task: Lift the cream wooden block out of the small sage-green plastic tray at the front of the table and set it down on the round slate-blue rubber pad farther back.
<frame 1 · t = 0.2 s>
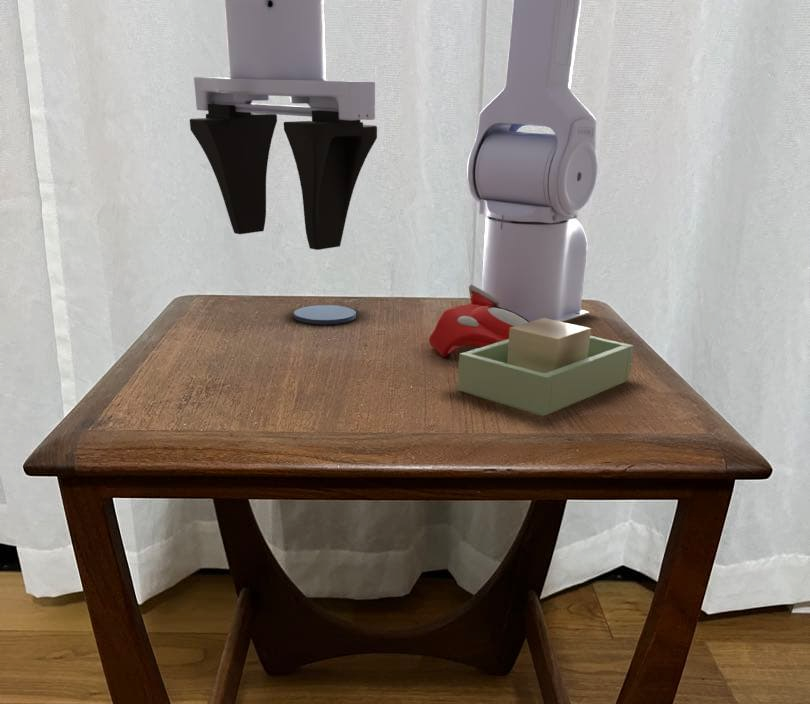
hand: (285, 239, 57), 10 cm above the table, tool pointing down, fingers open, 7 cm apart
red curved piece: (492, 350, 71), on the table
pad: (325, 316, 79), on the table
block: (545, 384, 62), resting on tray
tray: (544, 391, 62), on the table
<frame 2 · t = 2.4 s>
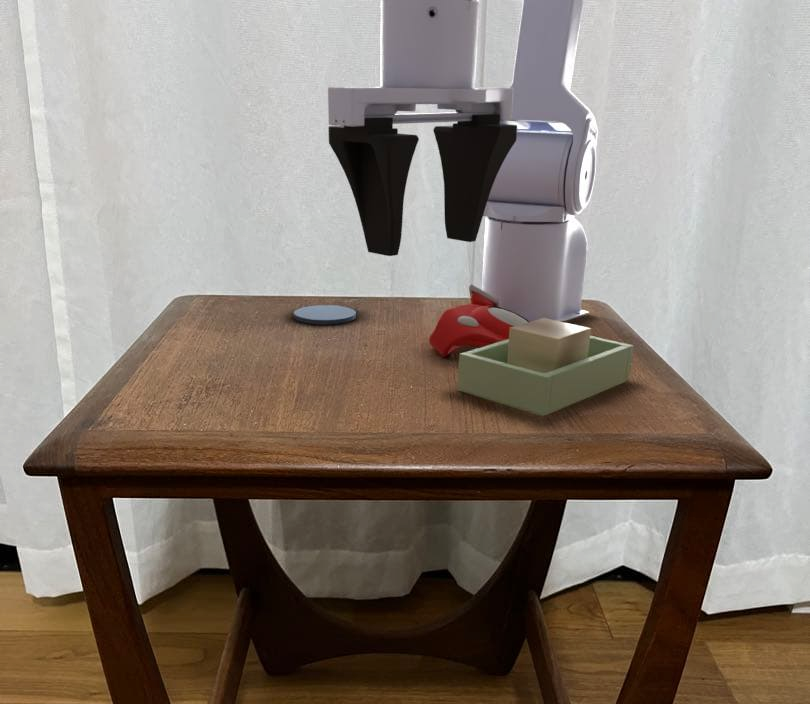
hand: (423, 246, 57), 10 cm above the table, tool pointing down, fingers open, 7 cm apart
nothing on the table moved.
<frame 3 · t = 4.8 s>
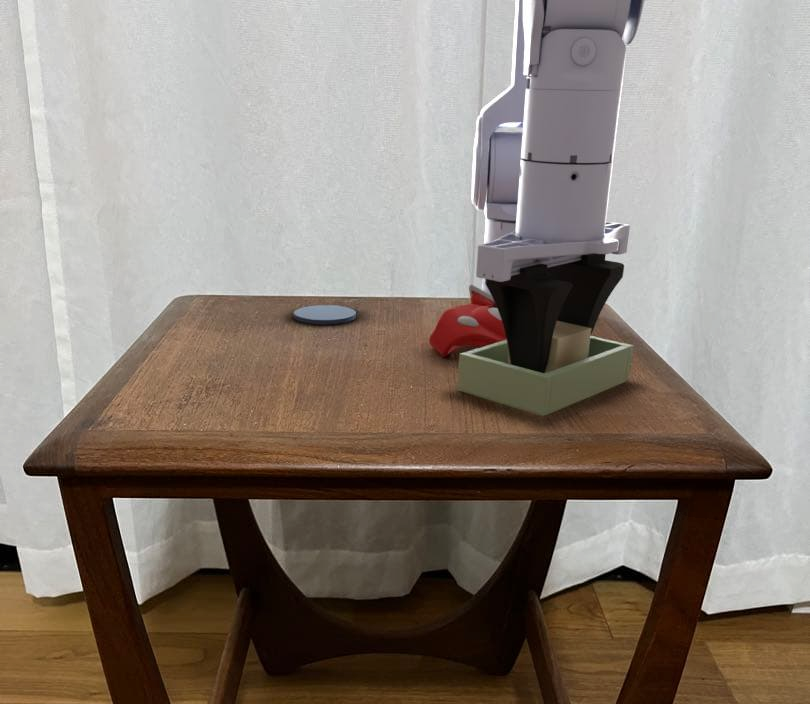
hand: (546, 371, 61), 1 cm above the table, tool pointing down, fingers closed on block, 4 cm apart
block: (545, 384, 62), resting on tray, touching gripper
everything else where it was.
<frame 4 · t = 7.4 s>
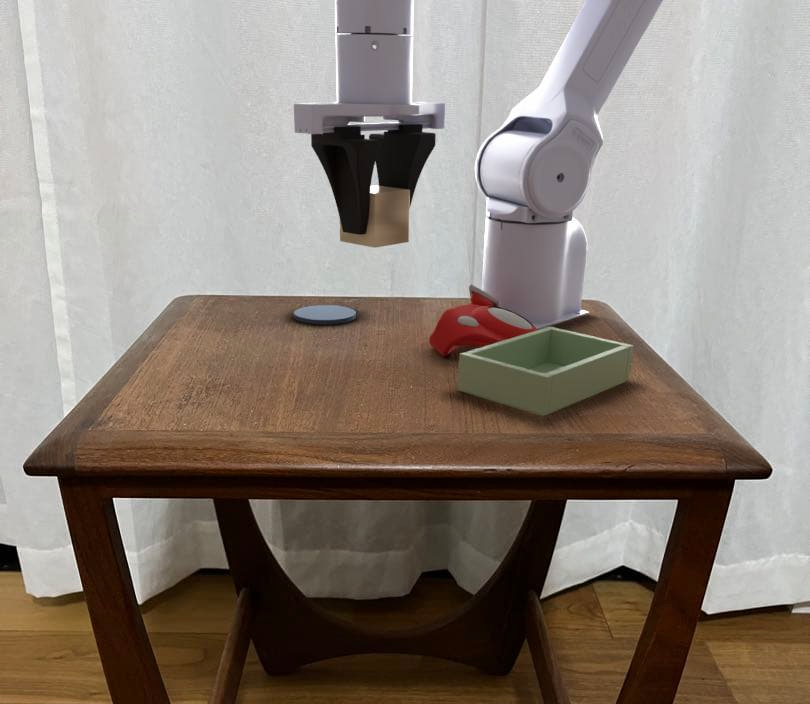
hand: (374, 230, 71), 8 cm above the table, tool pointing down, fingers closed on block, 4 cm apart
block: (374, 241, 71), point 8 cm above the table, touching gripper
everything else where it was.
when the fingers open (1 cm above the table, at t = 10.1 s): block stays where it is, resting on pad.
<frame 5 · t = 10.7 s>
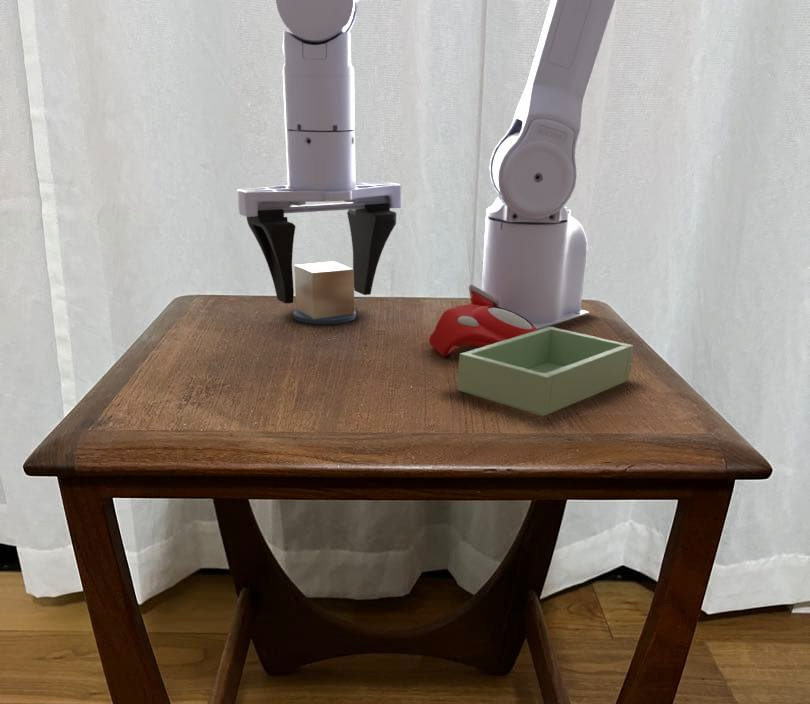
hand: (324, 296, 79), 2 cm above the table, tool pointing down, fingers open, 7 cm apart
block: (325, 312, 79), resting on pad
everything else where it was.
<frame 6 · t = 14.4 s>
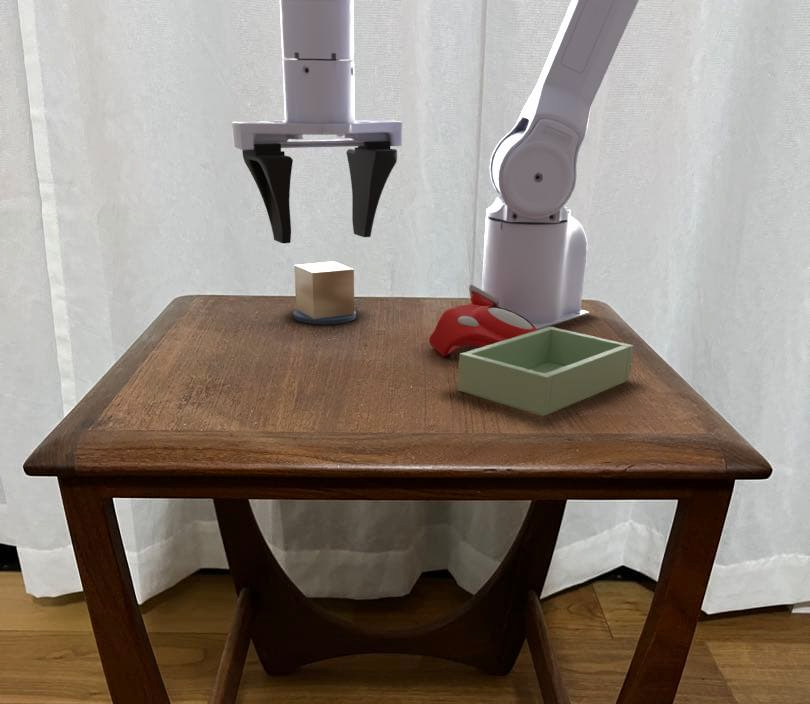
hand: (323, 238, 76), 7 cm above the table, tool pointing down, fingers open, 7 cm apart
nothing on the table moved.
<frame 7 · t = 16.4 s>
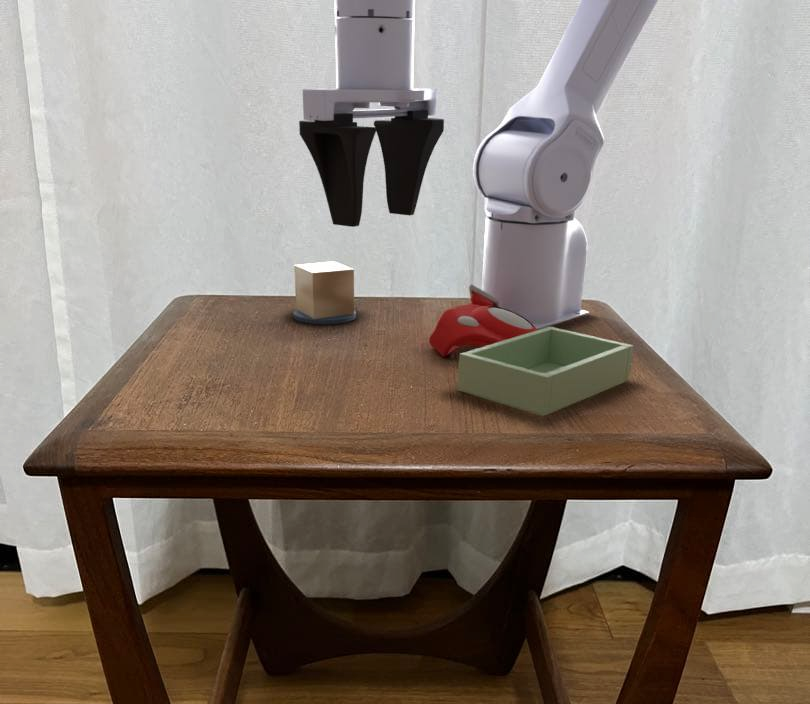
hand: (374, 219, 69), 9 cm above the table, tool pointing down, fingers open, 7 cm apart
nothing on the table moved.
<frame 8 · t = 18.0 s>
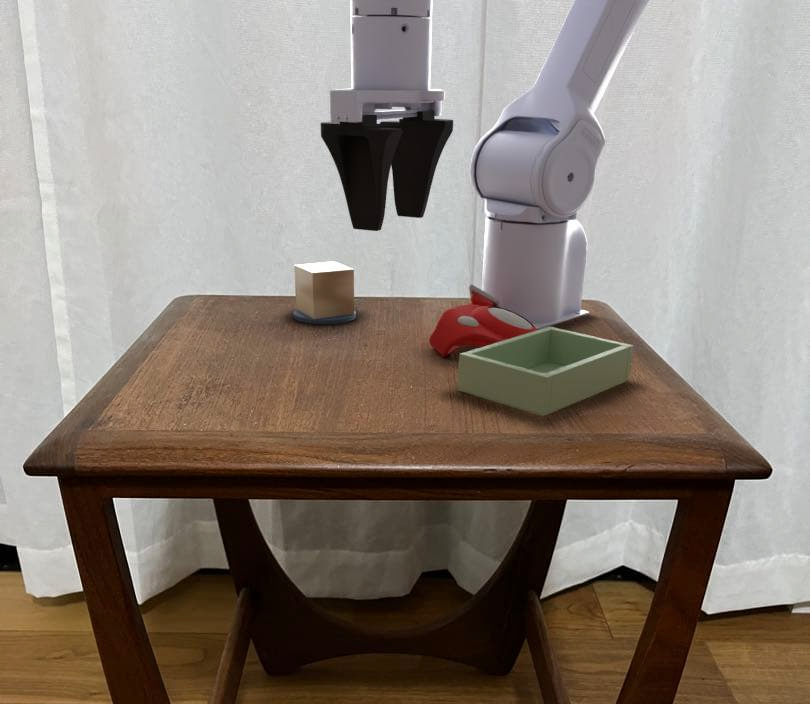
hand: (389, 222, 68), 9 cm above the table, tool pointing down, fingers open, 7 cm apart
nothing on the table moved.
at the end: block 0.0 cm off-centre on the pad, point 0.4 cm above the pad's base; block tilted 0°; block touching pad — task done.
